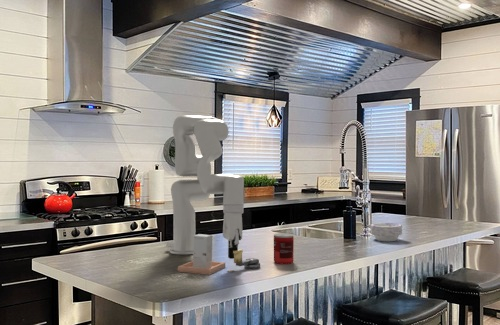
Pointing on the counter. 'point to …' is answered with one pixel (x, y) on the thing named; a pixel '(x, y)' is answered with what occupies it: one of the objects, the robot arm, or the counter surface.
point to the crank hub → (252, 266)
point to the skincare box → (202, 251)
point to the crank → (246, 262)
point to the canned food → (283, 248)
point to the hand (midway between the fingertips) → (232, 258)
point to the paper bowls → (386, 231)
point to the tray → (189, 268)
